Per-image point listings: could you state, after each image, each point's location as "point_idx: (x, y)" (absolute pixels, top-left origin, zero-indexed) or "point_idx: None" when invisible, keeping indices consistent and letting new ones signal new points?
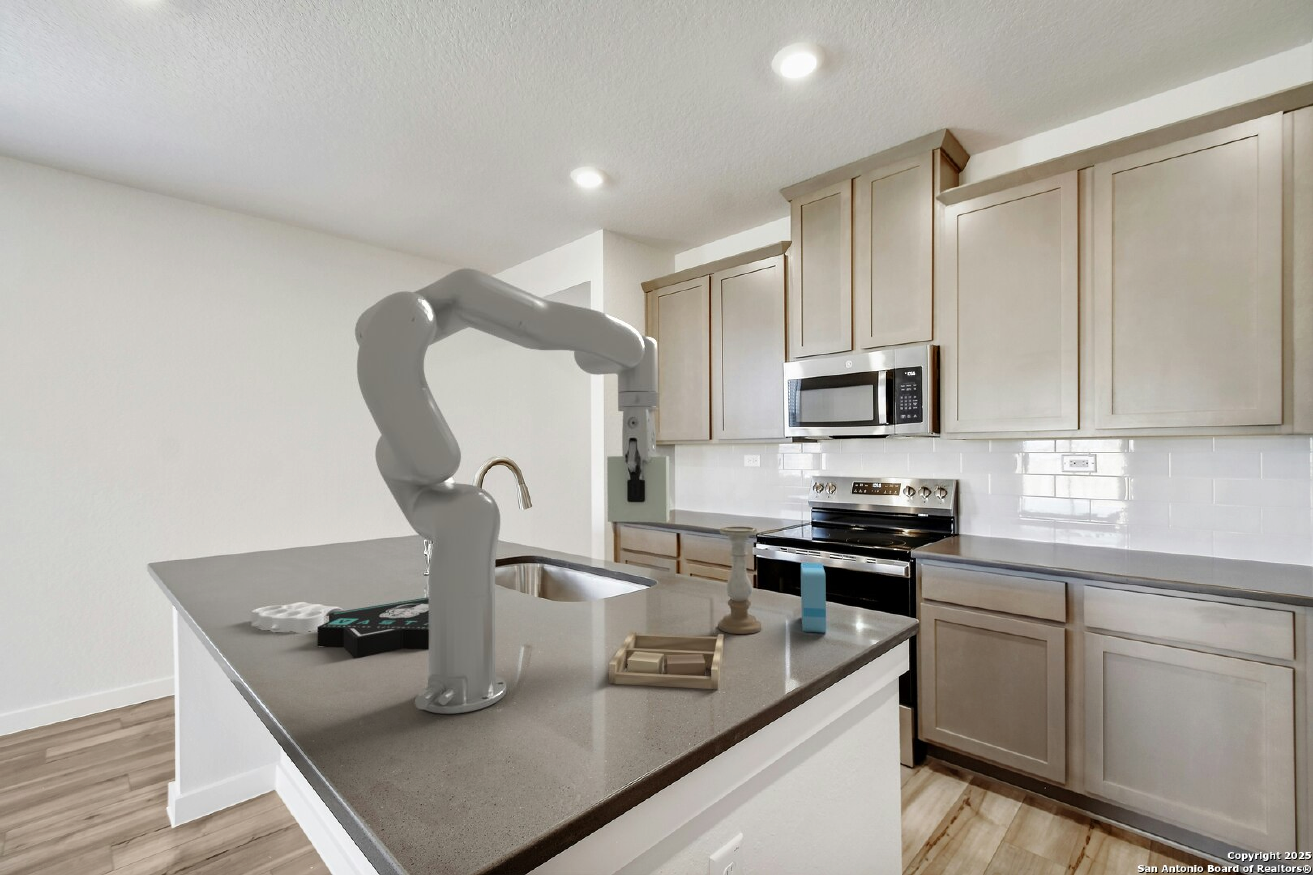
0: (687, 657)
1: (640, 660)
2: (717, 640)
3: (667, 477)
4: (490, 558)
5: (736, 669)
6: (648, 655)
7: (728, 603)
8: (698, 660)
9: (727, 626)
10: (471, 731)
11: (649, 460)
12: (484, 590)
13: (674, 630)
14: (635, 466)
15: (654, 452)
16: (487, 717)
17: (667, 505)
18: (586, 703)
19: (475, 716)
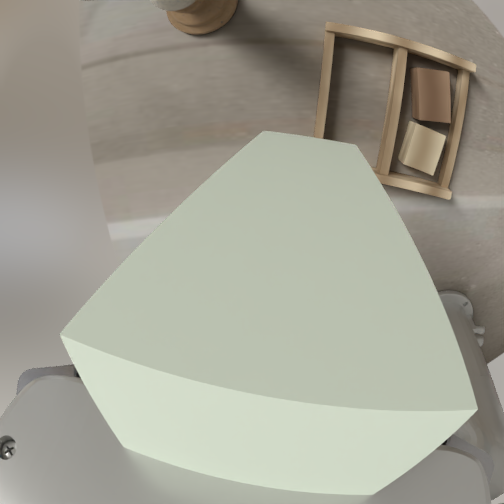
0: (429, 91)
1: (437, 158)
2: (359, 34)
3: (318, 208)
4: (495, 407)
5: (401, 23)
6: (420, 145)
7: (192, 10)
8: (441, 78)
9: (224, 17)
10: (498, 295)
11: (455, 454)
12: (490, 380)
13: (221, 101)
14: (464, 450)
15: (138, 493)
16: (482, 291)
17: (327, 152)
18: (482, 214)
19: (477, 300)
